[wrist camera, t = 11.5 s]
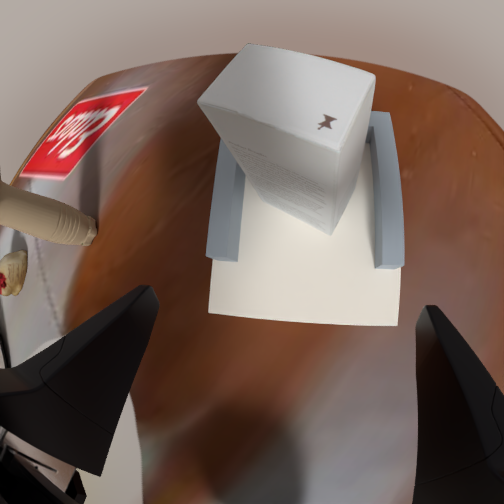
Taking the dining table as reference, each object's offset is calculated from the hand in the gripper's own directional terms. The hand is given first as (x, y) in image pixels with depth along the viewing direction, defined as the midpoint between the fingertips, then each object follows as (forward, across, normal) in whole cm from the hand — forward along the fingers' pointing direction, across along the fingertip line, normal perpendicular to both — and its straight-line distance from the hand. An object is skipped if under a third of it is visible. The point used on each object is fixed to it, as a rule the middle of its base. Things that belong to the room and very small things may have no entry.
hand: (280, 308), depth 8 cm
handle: (+12, +23, +5) cm, 26 cm away
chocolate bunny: (+8, +40, +10) cm, 42 cm away
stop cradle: (+13, 0, +4) cm, 14 cm away
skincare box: (+14, 0, +3) cm, 14 cm away
